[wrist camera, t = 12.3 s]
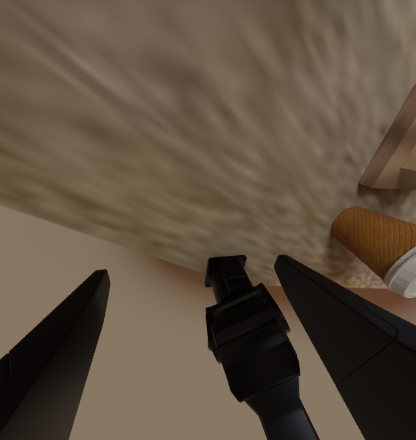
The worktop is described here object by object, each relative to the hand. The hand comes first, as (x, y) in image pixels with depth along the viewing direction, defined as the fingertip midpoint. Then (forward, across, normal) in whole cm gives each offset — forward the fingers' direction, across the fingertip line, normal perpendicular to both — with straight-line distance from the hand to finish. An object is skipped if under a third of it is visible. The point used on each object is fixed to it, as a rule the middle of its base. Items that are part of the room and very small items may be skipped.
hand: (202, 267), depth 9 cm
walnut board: (+13, -33, -7) cm, 36 cm away
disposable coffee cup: (+13, -29, +6) cm, 33 cm away
